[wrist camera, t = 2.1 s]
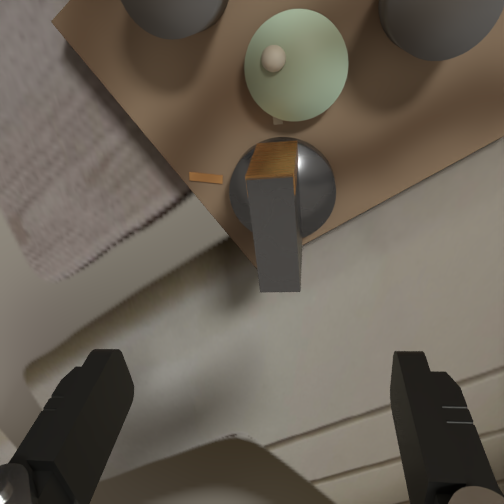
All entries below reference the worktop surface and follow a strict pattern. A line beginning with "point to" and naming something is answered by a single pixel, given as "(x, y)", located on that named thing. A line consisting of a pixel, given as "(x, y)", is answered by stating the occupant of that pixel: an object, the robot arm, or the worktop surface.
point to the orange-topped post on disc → (282, 205)
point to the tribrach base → (301, 86)
